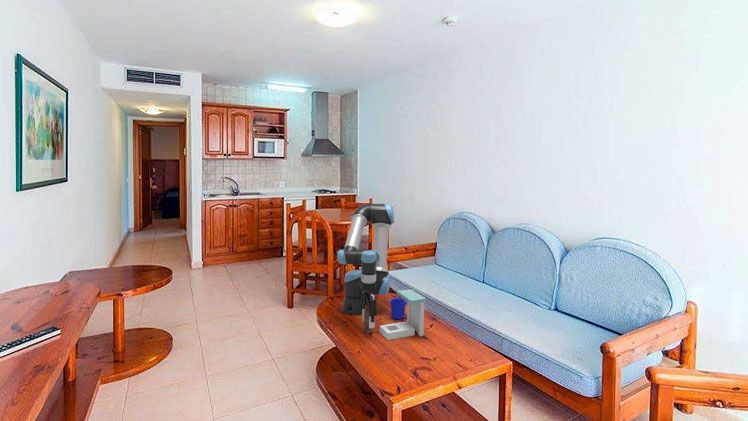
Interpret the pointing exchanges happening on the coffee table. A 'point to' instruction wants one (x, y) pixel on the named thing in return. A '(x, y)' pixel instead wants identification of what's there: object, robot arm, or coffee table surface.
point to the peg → (366, 319)
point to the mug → (398, 308)
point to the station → (413, 318)
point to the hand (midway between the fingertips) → (368, 324)
